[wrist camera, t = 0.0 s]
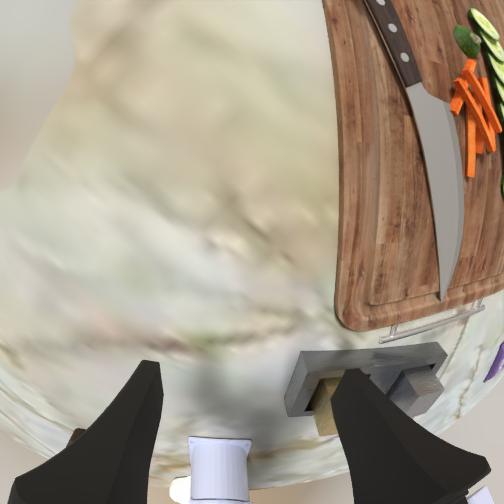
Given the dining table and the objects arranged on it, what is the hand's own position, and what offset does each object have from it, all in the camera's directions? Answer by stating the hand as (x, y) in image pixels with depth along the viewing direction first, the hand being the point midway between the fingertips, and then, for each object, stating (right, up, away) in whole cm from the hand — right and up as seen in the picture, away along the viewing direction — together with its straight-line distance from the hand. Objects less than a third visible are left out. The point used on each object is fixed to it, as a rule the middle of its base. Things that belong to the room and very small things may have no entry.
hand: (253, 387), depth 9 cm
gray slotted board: (+12, -7, +15) cm, 21 cm away
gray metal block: (+17, -8, +16) cm, 24 cm away
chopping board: (+18, +18, +5) cm, 26 cm away
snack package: (+46, -14, +22) cm, 52 cm away
